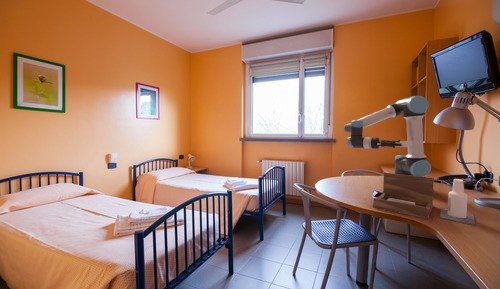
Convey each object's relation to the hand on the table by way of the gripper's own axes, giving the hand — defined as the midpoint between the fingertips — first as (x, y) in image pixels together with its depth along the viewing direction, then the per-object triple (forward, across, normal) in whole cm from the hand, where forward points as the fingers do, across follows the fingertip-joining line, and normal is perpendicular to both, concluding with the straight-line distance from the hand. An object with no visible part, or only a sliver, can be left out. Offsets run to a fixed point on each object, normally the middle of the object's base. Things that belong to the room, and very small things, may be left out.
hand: (410, 144), depth 132 cm
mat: (+22, +17, -34) cm, 44 cm away
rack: (0, +17, -34) cm, 38 cm away
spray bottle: (+22, +17, -34) cm, 43 cm away
